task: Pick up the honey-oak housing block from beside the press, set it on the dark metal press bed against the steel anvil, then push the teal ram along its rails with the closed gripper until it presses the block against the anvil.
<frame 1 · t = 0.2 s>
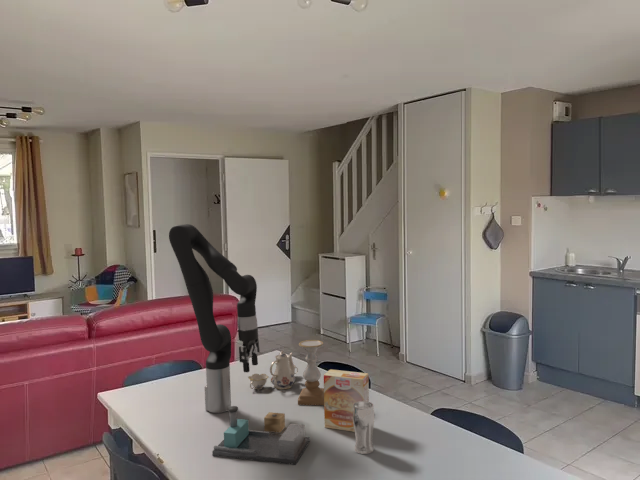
hand: (250, 368, 199), 17 cm above the table, tool pointing down, fingers open, 8 cm apart
chinaware: (278, 385, 231), on the table
candle holder: (312, 400, 211), on the table
housing block: (274, 429, 185), on the table
beer glass: (364, 450, 167), on the table
coffeecake box: (347, 427, 185), on the table
ram: (235, 424, 172), point 7 cm above the table, slide at 0.0 cm
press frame: (262, 448, 170), on the table
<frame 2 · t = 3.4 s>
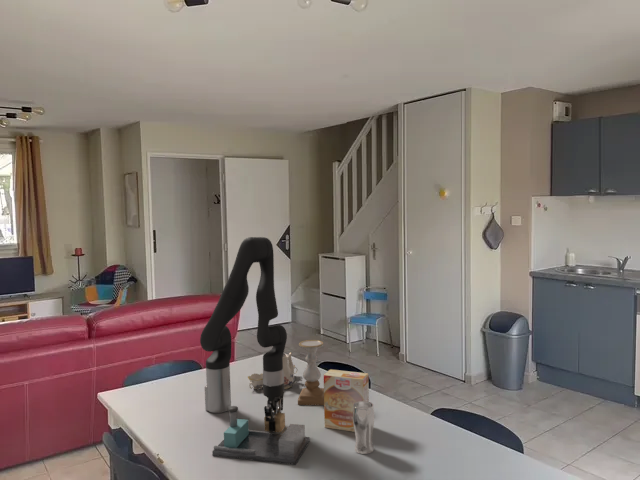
hand: (275, 427, 185), 0 cm above the table, tool pointing down, fingers closed on housing block, 5 cm apart
housing block: (275, 428, 185), on the table, touching gripper
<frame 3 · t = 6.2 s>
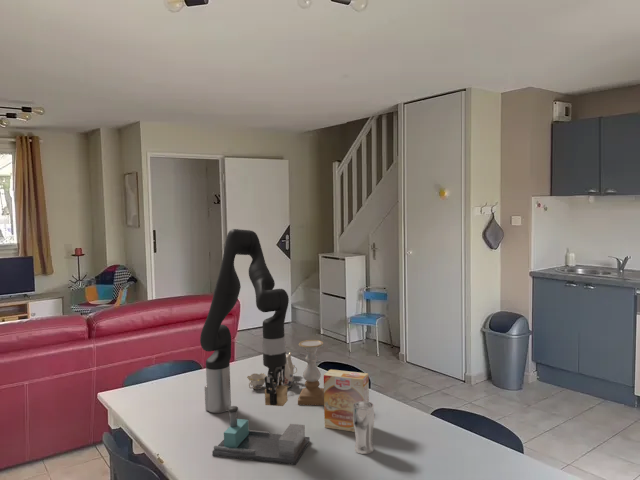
hand: (276, 401, 168), 16 cm above the table, tool pointing down, fingers closed on housing block, 5 cm apart
housing block: (276, 402, 168), point 15 cm above the table, touching gripper
everything else where it was.
when the fingers open (3 cm above the table, at t = 9.2 s): housing block stays where it is, resting on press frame.
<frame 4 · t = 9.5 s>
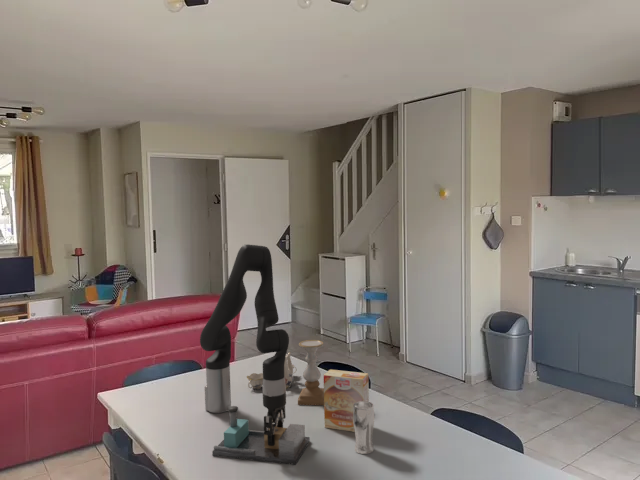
hand: (275, 439, 168), 4 cm above the table, tool pointing down, fingers open, 8 cm apart
housing block: (275, 445, 169), point 1 cm above the table, touching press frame
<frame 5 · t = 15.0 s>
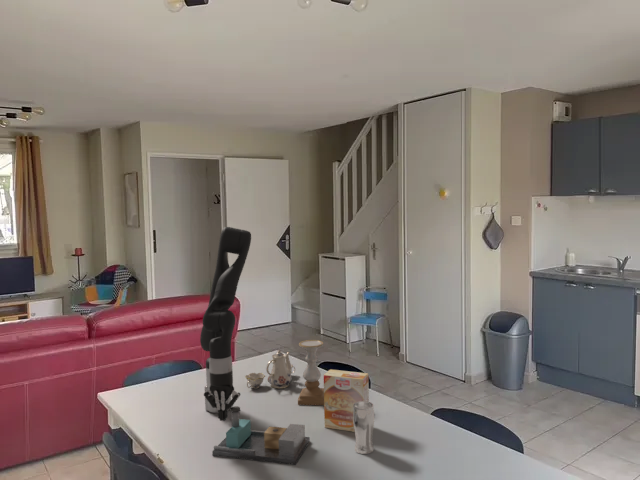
hand: (222, 419, 173), 9 cm above the table, tool pointing down, fingers closed
ram: (237, 424, 172), point 7 cm above the table, slide at 0.8 cm, touching gripper
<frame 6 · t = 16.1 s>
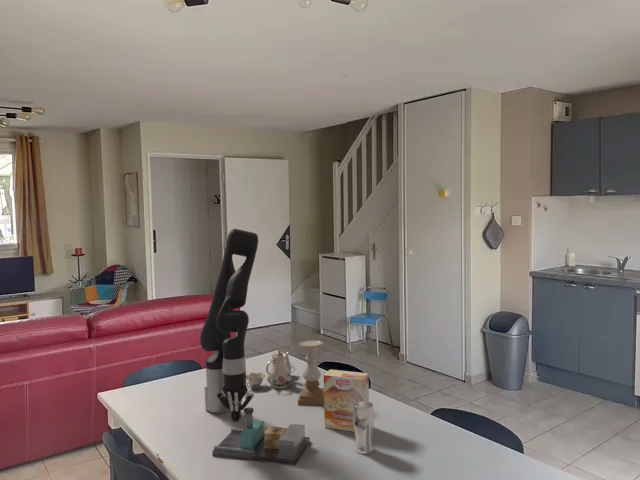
hand: (236, 421, 171), 9 cm above the table, tool pointing down, fingers closed
ram: (251, 425, 170), point 7 cm above the table, slide at 5.6 cm, touching gripper
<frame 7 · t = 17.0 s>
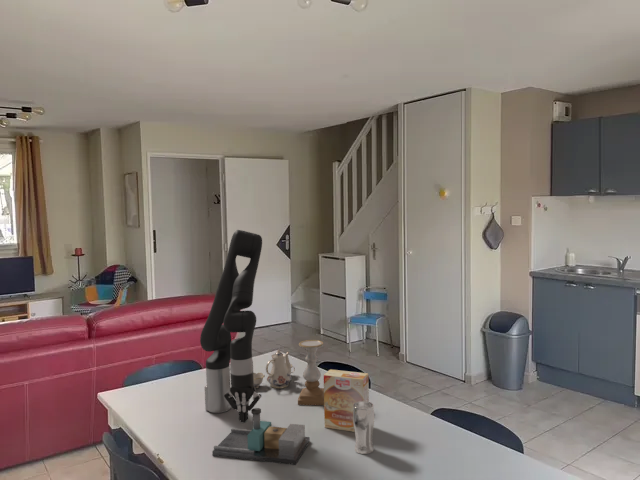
hand: (243, 421, 171), 9 cm above the table, tool pointing down, fingers closed
ram: (258, 426, 170), point 7 cm above the table, slide at 8.3 cm, touching gripper
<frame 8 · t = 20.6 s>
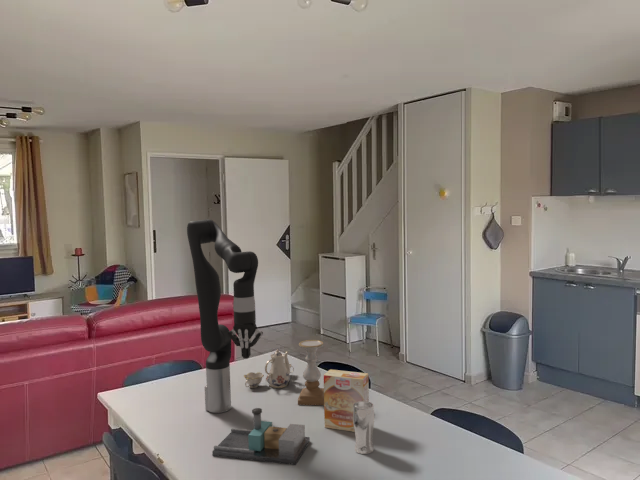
hand: (246, 357, 180), 27 cm above the table, tool pointing down, fingers closed
ram: (259, 426, 170), point 7 cm above the table, slide at 8.6 cm
at the end: housing block 0.2 cm from the target spot, point 1.5 cm above the table; ram slide at 8.6 cm; housing block tilted 0° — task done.
